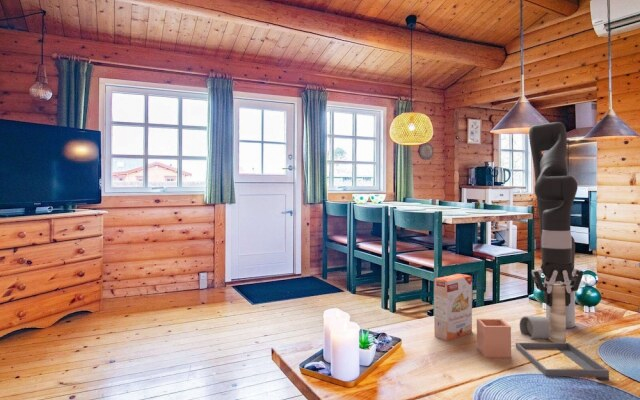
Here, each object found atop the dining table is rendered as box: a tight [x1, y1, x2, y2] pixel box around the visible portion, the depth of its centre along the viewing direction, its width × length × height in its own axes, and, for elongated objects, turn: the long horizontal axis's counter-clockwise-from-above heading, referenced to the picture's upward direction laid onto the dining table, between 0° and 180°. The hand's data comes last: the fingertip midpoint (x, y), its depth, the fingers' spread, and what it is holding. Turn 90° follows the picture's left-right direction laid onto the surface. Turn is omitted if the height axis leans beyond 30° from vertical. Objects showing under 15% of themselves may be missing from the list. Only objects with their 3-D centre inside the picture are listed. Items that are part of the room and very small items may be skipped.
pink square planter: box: [476, 318, 512, 358], centre depth 126 cm, size 8×8×10 cm
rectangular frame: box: [515, 342, 610, 381], centre depth 118 cm, size 20×16×2 cm
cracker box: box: [433, 273, 473, 342], centre depth 142 cm, size 14×6×21 cm, turn 126°
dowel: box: [549, 284, 567, 343], centre depth 118 cm, size 4×4×16 cm
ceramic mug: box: [519, 315, 550, 340], centre depth 140 cm, size 11×8×8 cm
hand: (557, 305), depth 118 cm, fingers closed on dowel, 4 cm apart
